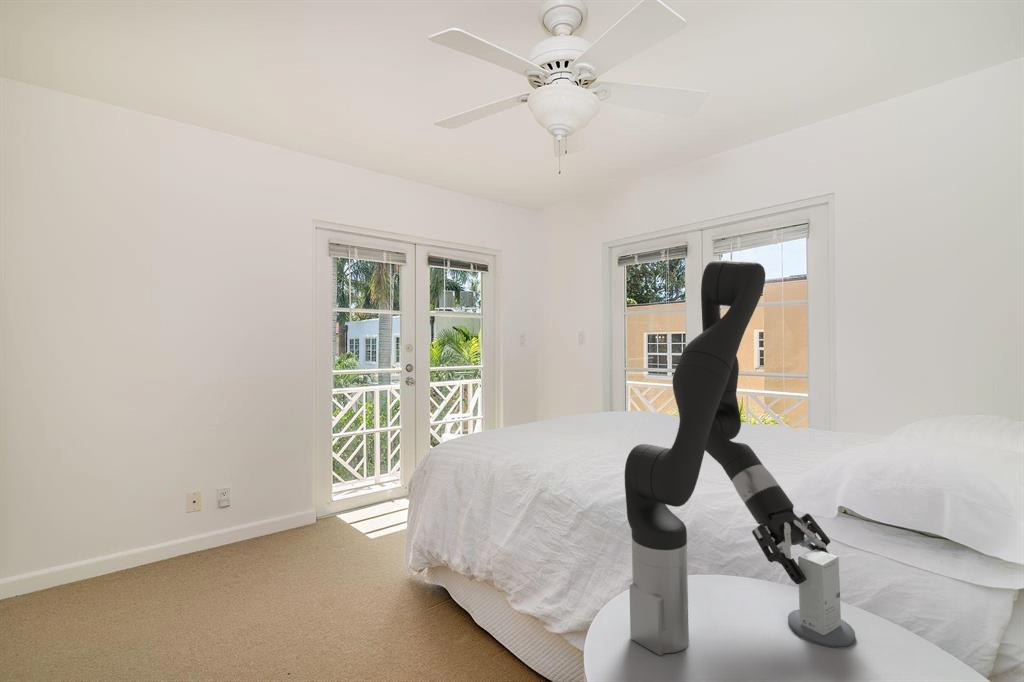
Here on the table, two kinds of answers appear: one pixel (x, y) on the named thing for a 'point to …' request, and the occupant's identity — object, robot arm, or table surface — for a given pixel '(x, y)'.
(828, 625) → the skincare box
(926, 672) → the table surface
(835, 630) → the coaster mat
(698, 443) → the robot arm
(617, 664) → the table surface
